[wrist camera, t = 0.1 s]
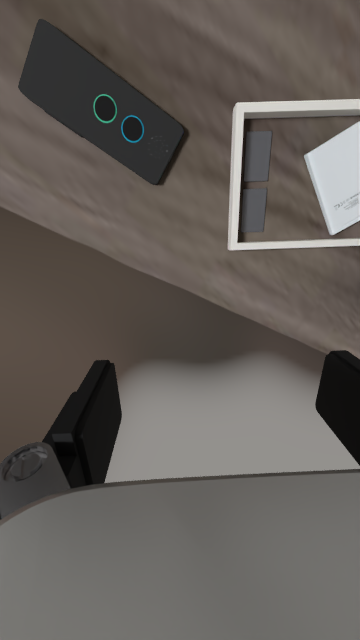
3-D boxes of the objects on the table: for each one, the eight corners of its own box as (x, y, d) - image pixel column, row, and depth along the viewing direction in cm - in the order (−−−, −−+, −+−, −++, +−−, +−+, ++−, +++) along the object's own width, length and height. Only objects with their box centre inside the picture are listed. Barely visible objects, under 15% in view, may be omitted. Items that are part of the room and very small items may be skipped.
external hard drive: (357, 122, 33) (378, 206, 37) (301, 156, 35) (327, 234, 39) (365, 117, 32) (386, 206, 36) (307, 153, 33) (333, 235, 37)
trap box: (233, 109, 32) (239, 96, 29) (474, 103, 33) (508, 89, 29) (227, 249, 39) (232, 251, 35) (429, 241, 39) (452, 243, 36)
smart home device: (155, 187, 34) (15, 90, 30) (156, 188, 36) (23, 97, 31) (186, 126, 32) (39, 12, 27) (185, 131, 33) (46, 24, 29)
